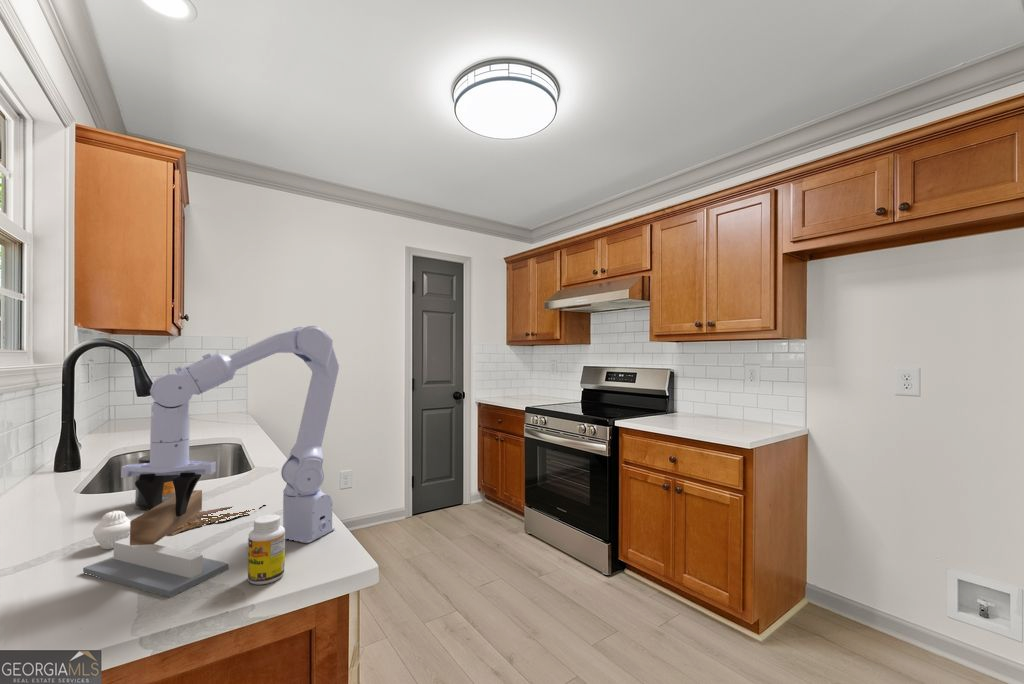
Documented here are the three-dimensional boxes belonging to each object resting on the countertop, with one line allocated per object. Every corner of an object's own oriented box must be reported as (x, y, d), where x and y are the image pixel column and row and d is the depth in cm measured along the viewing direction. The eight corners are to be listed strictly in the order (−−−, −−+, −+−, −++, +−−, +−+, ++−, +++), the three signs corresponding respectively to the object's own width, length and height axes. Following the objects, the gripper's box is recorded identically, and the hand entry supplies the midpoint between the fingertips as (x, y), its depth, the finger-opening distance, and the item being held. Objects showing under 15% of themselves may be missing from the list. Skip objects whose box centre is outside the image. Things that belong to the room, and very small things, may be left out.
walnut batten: (201, 510, 92) (202, 490, 92) (153, 544, 76) (154, 520, 76) (182, 511, 91) (182, 490, 91) (129, 545, 75) (130, 521, 75)
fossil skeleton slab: (148, 542, 93) (149, 537, 93) (137, 528, 101) (137, 523, 101) (280, 510, 113) (280, 506, 113) (263, 500, 120) (263, 496, 120)
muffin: (134, 546, 91) (135, 510, 91) (92, 555, 87) (93, 518, 87) (131, 536, 96) (132, 503, 96) (92, 545, 91) (92, 510, 91)
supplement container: (190, 504, 115) (190, 456, 116) (136, 514, 108) (136, 463, 109) (184, 494, 123) (184, 449, 123) (133, 503, 116) (134, 455, 116)
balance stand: (228, 569, 82) (228, 546, 82) (169, 597, 73) (170, 571, 73) (145, 549, 89) (146, 529, 89) (83, 573, 80) (83, 550, 80)
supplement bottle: (240, 581, 78) (241, 520, 78) (271, 567, 83) (272, 510, 83) (260, 589, 75) (261, 526, 75) (291, 575, 80) (292, 515, 80)
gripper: (223, 435, 89) (222, 505, 89) (139, 436, 86) (137, 509, 86) (205, 442, 82) (204, 519, 82) (113, 444, 79) (111, 523, 79)
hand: (168, 515), depth 83 cm, fingers closed on walnut batten, 3 cm apart
